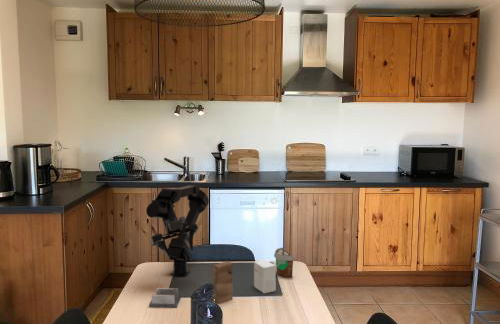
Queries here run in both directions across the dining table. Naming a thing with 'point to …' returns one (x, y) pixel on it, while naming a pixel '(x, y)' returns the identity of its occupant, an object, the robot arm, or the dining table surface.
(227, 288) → the brown wooden block
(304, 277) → the dining table surface
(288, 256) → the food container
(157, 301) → the hinge base
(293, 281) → the dining table surface
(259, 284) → the small box
